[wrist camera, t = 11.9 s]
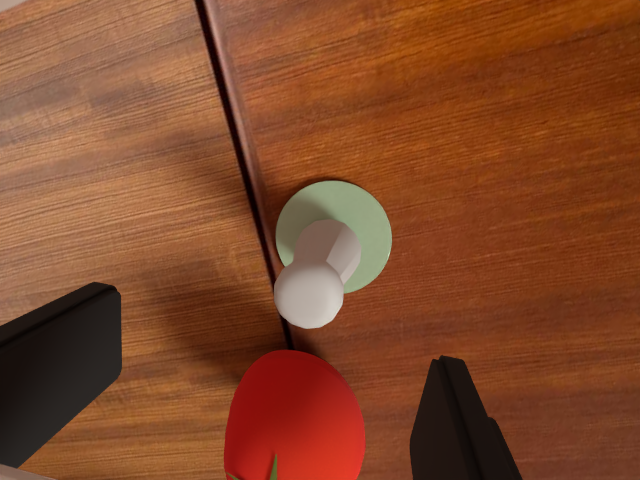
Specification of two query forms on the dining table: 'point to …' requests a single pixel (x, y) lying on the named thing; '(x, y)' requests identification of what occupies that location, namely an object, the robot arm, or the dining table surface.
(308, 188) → the coaster
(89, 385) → the robot arm
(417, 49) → the dining table surface
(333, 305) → the salt shaker
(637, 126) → the dining table surface
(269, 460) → the tomato
